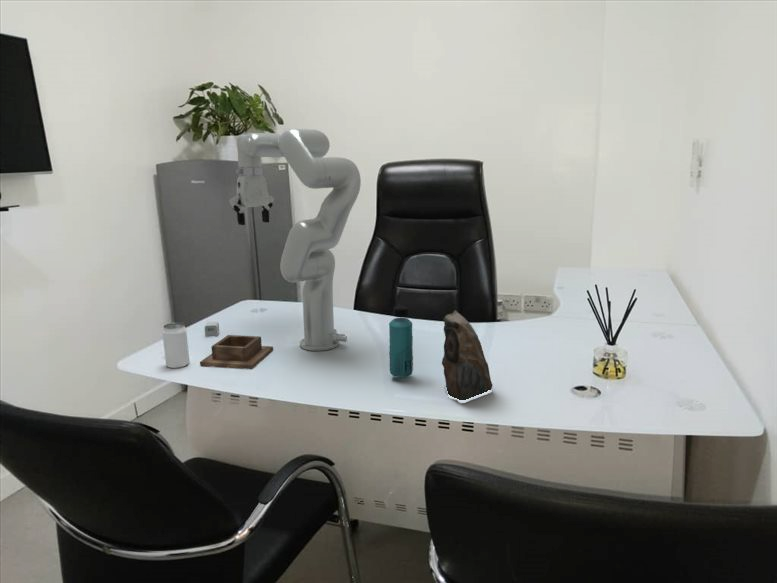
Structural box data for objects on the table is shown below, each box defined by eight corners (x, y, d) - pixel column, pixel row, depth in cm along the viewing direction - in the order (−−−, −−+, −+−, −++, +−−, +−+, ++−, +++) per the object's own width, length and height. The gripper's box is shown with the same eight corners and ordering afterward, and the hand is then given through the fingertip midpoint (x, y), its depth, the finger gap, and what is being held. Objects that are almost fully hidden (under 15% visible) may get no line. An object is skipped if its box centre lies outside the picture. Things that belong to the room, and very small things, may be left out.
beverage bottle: (405, 384, 143) (405, 311, 139) (384, 379, 147) (383, 308, 142) (417, 376, 149) (417, 305, 144) (396, 371, 152) (396, 302, 147)
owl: (460, 406, 130) (462, 327, 125) (424, 390, 140) (425, 315, 135) (495, 392, 138) (498, 317, 133) (458, 377, 147) (460, 306, 143)
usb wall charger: (205, 337, 184) (204, 325, 183) (208, 331, 190) (207, 320, 189) (217, 336, 184) (216, 325, 183) (220, 330, 191) (219, 319, 190)
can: (184, 368, 156) (180, 328, 153) (162, 368, 156) (157, 328, 153) (193, 360, 162) (189, 322, 159) (171, 360, 162) (167, 322, 159)
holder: (273, 350, 170) (272, 334, 169) (252, 369, 155) (250, 351, 154) (225, 347, 173) (224, 332, 172) (200, 365, 158) (198, 348, 156)
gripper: (233, 173, 174) (237, 226, 179) (278, 172, 187) (281, 222, 191) (221, 173, 179) (225, 224, 183) (265, 172, 192) (268, 220, 196)
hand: (253, 223), depth 187 cm, fingers open, 9 cm apart
